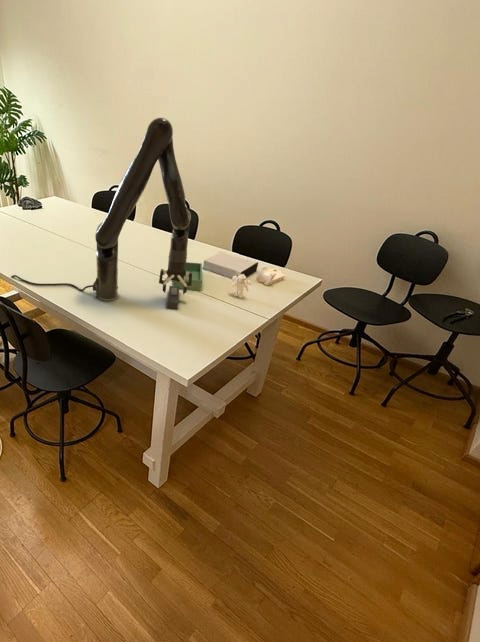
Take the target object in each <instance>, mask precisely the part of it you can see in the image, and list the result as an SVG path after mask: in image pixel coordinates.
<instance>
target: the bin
mask: <svg viewBox="0 0 480 642" xmlns="http://www.w3.org/2000/svg"><path fill="white" fill-rule="evenodd" d="M185 271H186V272H190V271H192V285H191V286H187V290H190V291H200V292H201V291H202V286H203V285H202V284H203V264H202V263H201V262H189V261H186V268H185ZM184 278H185V280H186V282H189V277H187V275H185V276H184ZM172 286H177V287H179V290H183V289H184V285H183V283H182V282H181V281H173V284H172Z"/></svg>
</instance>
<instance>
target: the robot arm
mask: <svg viewBox="0 0 480 642" xmlns="http://www.w3.org/2000/svg"><path fill="white" fill-rule="evenodd" d="M173 128H174V127H173V125H172V123H171V122H170V120H168V119H167V118H165V117H157V118H154V119H153V120H152V121H150V123H149V124H148V126H147V128H146V132H145V134H144V138H143V140H142V142H141V145H140V147H139V150H138V152H137V154H136V156H135V157H134V159H133V160H132V162H131V163H130V165H129V166H128V168H127V170H125V172H124V175H123V176H122V178H121V180H120V183H119V185H118V187H117V189H116V192H115V194H114V196H113V200H112V203H111V206H110V208H109V211H108V213H107V215H106V217H105V218H104V221H102V222H101V223H99V224H98V225H97V227H96V229H95V230H96V231H95V234H94V237H95V242H96V252H95V253H96V254H95V256H96V257H95V259H96V260H95V261H96V278H95V280H94V282H93V284H91V285H86V286H84V287H82V288H79V287H77V285H75V284H72V283H68V282H66V283H65V282H64V283H63V282H62V283H59V282H58V283H38V282H32V281H29V280H26V279H24V278H21V276H19V275H16V274H13V275H12V276H11V278H17V279H18V280H20V281H22V282H25V283H27V284H30V285H35V286H71V287H73V288H74V289H76V290H78V291H80V292H84V291H85V290H86V289H88V288H92V291H93V292H95V294H96V295H95V296H96V297H95V298H96V299H99V300H101V301H104V302H110V301H114V300H116V299H117V298H118V296H119V295H118V293H119V291H118V289H119V286H118V285H119V283H118V280H119V279H118V277H119V274H118V273H119V272H118V271H119V270H118V269H119V237H120V234H121V232H122V230H123V227H124V225H125V223H126V221H127V220H128V219H129V216H130V215H131V213H132V212H133V210H134V209H135V207H136V205H137V204H138V202H139V200H140V198H141V196H142V195H143V193H144V191H145V189H146V188H147V185H148V183H149V180H150V179H151V176H152V174H153V170H154V167H155V165H156V164H157V162H158V165H159V169H160V173H161V174H160V175H161V179H162V185H163V189H164V193H165V198H166V200H167V203H168V210H169V218H170V222H171V226H172V234H171V236H170V246H169V252H168V260H167V261H168V263H167V270H166V269H164V268H161V269H160V272H159V280H158V283H159V284H161V285H162V292H163V293H166V291H167V284H168V283H169V282H170V281H171V282H174V281H181V282H182V283H183V285H184V289H182V294H183V295H185V294H186V293H187V290H188V289H187V286H191V285H192V271H190V272H186V271H185V268H186V262H187V259H188V244H189V231H190V227H191V221H192V214H191V212H190V210H188V208H187V205H186V193H185V189H184V185H183V181H182V180H183V179H182V177H181V174H180V170H179V167H178V163H177V160H176V155H175V149H174V138H173V137H174V129H173ZM165 275H167V276H166V277H165V279H164V280H163V276H165ZM185 275H187V277H189V282H186V280H185V278H184V276H185Z"/></svg>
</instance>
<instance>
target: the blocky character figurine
mask: <svg viewBox="0 0 480 642" xmlns="http://www.w3.org/2000/svg"><path fill="white" fill-rule="evenodd" d="M237 274H238V275H240V274H241V273H239V272H237ZM231 281H232V282H233V283H232V285H231V287H232V288H234V287H235V292H234V294H233V297H236V298H237V297H238V298H239V299H243V297H244V289H245V291H246V292H247V293H248V292H249V290H250V289H249V288H248V286H249V285H252V280H251V279H247V278H246V277H245V275H244V274H241V275H240V276H238V278H237V276H236V275H235V276H233V278H231Z"/></svg>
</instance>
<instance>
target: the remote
mask: <svg viewBox="0 0 480 642" xmlns="http://www.w3.org/2000/svg"><path fill="white" fill-rule="evenodd" d="M179 296H180V289H179V287H177V286H173V285H169V288H168V294H167V303H166V309H167V310H168V309H169V310H178V308H179V307H178V306H179Z"/></svg>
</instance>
